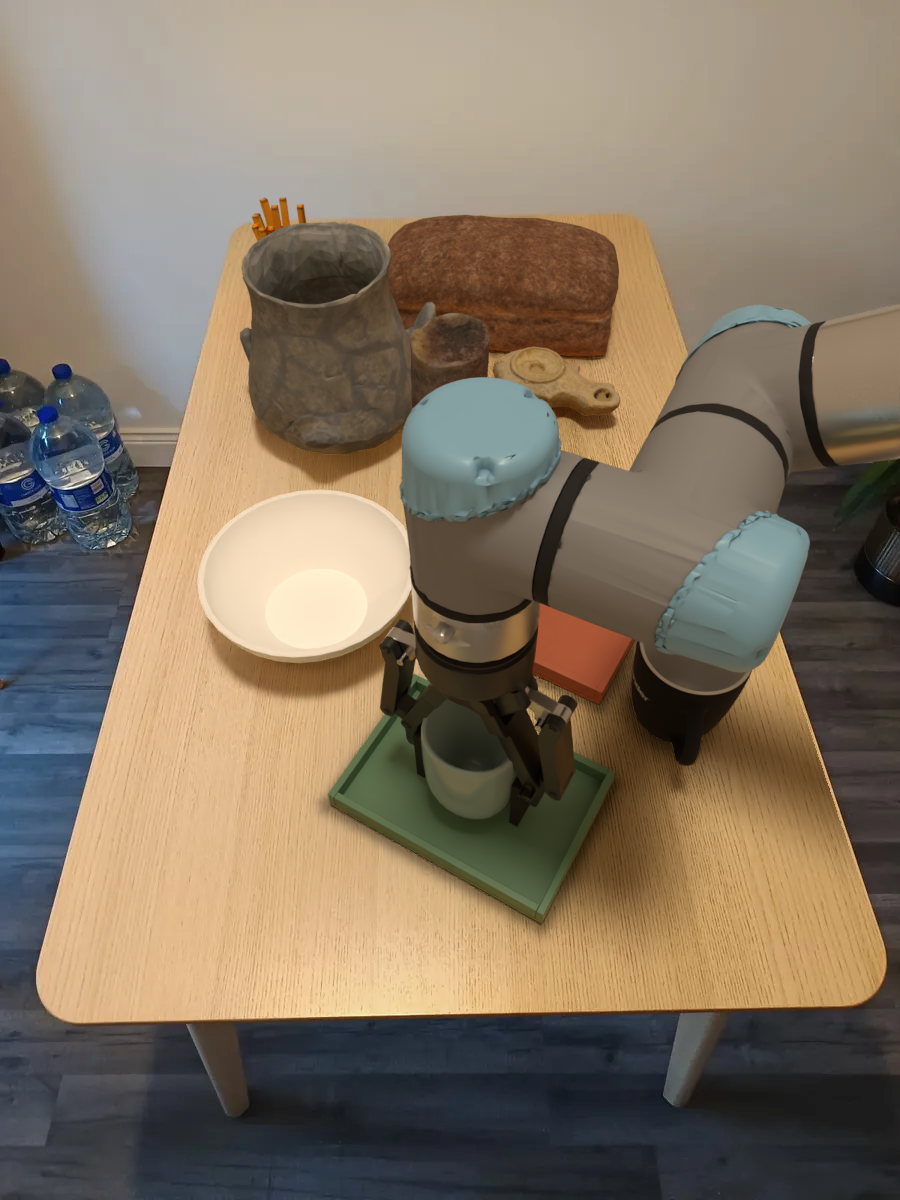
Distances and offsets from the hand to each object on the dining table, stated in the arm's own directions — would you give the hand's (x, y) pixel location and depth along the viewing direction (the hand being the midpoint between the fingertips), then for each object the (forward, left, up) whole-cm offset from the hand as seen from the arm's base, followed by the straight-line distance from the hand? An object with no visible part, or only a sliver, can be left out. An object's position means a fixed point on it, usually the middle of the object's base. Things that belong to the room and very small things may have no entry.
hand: (474, 786), depth 69 cm
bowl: (+22, -9, -2) cm, 24 cm away
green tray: (0, 0, -2) cm, 2 cm away
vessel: (+36, -33, -2) cm, 49 cm away
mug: (-12, -14, -2) cm, 18 cm away
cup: (0, 0, 0) cm, 0 cm away
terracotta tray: (+3, -21, -2) cm, 21 cm away
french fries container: (+52, -47, -2) cm, 70 cm away
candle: (+19, -29, -2) cm, 35 cm away
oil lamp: (+16, -48, -2) cm, 51 cm away
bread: (+30, -60, -2) cm, 67 cm away
